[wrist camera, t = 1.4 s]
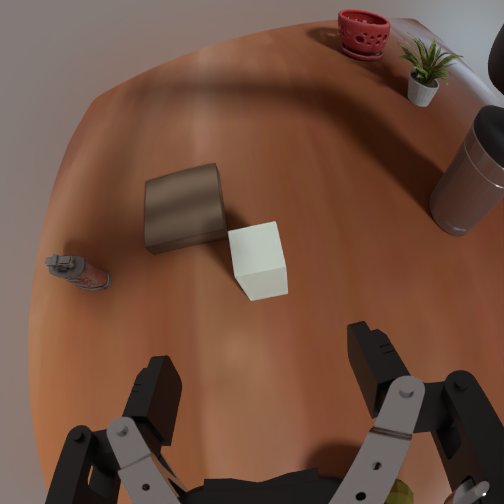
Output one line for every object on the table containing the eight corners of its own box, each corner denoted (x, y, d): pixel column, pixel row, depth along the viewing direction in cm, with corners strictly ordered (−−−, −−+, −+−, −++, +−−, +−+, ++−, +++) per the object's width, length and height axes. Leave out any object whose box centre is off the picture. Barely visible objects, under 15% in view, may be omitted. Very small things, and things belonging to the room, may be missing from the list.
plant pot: (394, 61, 55) (401, 25, 44) (356, 67, 55) (360, 26, 43) (364, 40, 60) (367, 7, 49) (327, 45, 60) (327, 9, 49)
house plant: (432, 83, 50) (446, 32, 35) (458, 121, 45) (482, 66, 30) (383, 79, 52) (393, 21, 37) (407, 116, 47) (426, 52, 32)
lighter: (75, 289, 42) (36, 270, 33) (78, 271, 44) (41, 249, 34) (110, 291, 41) (70, 271, 32) (113, 271, 42) (75, 247, 33)
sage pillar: (245, 266, 40) (228, 231, 30) (280, 258, 39) (275, 221, 29) (251, 300, 38) (234, 277, 28) (288, 293, 37) (285, 266, 27)
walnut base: (153, 191, 47) (146, 181, 44) (219, 173, 46) (215, 162, 44) (153, 254, 42) (144, 246, 40) (228, 237, 42) (223, 228, 39)
